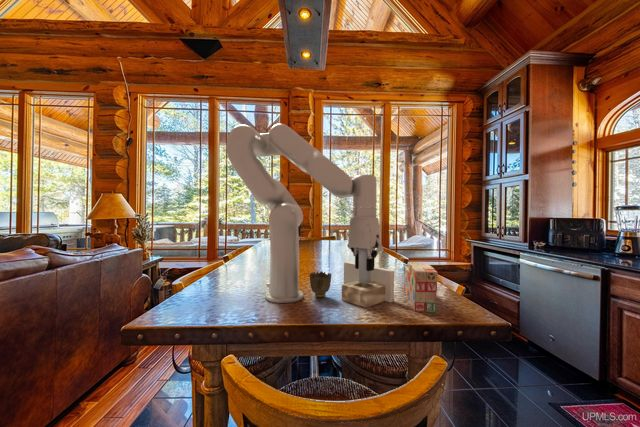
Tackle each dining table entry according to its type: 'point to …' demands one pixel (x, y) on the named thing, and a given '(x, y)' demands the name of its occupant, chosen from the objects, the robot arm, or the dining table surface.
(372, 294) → the socket block
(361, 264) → the dowel
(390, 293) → the backstop wall
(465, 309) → the dining table surface
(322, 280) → the cup
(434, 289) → the stack of blocks
